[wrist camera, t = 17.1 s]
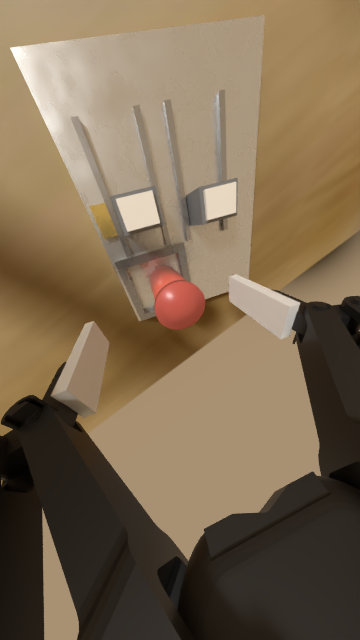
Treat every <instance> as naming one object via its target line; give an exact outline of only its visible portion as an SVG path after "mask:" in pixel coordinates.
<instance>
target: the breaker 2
mask: <svg viewBox="0 0 360 640" xmlns="http://www.w3.org/2000/svg"><path fill="white" fill-rule="evenodd" d="M237 195H238V178H234V179H230V180H226V181H222V182H218V183H214V184H209V185H205V186H201V187H198V188H197V189H195V190H194V191H192V192H191V193H189V194H188V195H186V198H187V204H188V211H189V218H190V225H191V226H194V225H204V224H208V223H211V222H215V221H219V220H222V219H226V218H230V217H233V216H237Z"/></svg>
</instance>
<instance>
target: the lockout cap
mask: <svg viewBox="0 0 360 640" xmlns="http://www.w3.org/2000/svg"><path fill="white" fill-rule="evenodd" d="M150 285H151V289H152V292H153V295H154V299H155V303H154V308H155V313H156V316H157V318H158V320H159V322H160V323H161V324H162V325H164V326H165V327H167V328H170V329H175V330H179V329H184V328H187V327H190V326H192V325H193V324H194V323H196V322H197V321H198V320H199V319H200V317H201V316H202V314H203V312H204V309H205V297H204V294H203V293H202V291H201V290H200V289H199V288H198V287H197V286H196V285H195V284H193V283H191V282H189V281H186V280H185V279H184V278H183V277H182V276H181V275H180V274H179V273H178V272H177V271H176V270H175V269H173V268H172V267H170V266H160V267H158V268H156V269H155V270H154V271H153V272H152V274H151V276H150Z"/></svg>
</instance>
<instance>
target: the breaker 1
mask: <svg viewBox="0 0 360 640" xmlns="http://www.w3.org/2000/svg"><path fill="white" fill-rule="evenodd" d="M110 199H111V201H112V204H113V207H114V209H115V212H116V215H117V217H118V220H119V222H120V225H121V228H122V230H123V233H124V235H125V236H128V235H132V234H136V233H139V232H143V231H147V230H151V229H154V228H158V227H162V226H164V222H163V217H162V213H161V209H160V205H159V200H158V196H157V192H156V188H155V186H151V187H147V188H143V189H139V190H134V191H130V192H126V193H122V194H118V195H113V196H110Z"/></svg>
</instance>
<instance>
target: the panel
mask: <svg viewBox="0 0 360 640" xmlns="http://www.w3.org/2000/svg"><path fill="white" fill-rule="evenodd" d="M264 20H265V15H262V16H255V17H247V18H239V19H231V20H223V21H216V22H208V23H200V24H192V25H184V26H176V27H169V28H161V29H153V30H145V31H137V32H129V33H122V34H114V35H106V36H98V37H90V38H83V39H75V40H67V41H59V42H51V43H43V44H36V45H28V46H20V47H12V48H10V49H11V51H12V53H13V55H14V57H15V59H16V61H17V63H18V66H19V68H20V70H21V72H22V74H23V76H24V78H25V80H26V83H27V85H28V87H29V89H30V91H31V93H32V95H33V97H34V99H35V102H36V104H37V106H38V108H39V110H40V112H41V114H42V116H43V119H44V121H45V123H46V125H47V127H48V129H49V131H50V133H51V135H52V138H53V140H54V142H55V144H56V146H57V148H58V150H59V152H60V155H61V157H62V159H63V161H64V163H65V165H66V167H67V169H68V171H69V174H70V176H71V178H72V180H73V182H74V184H75V186H76V188H77V191H78V193H79V195H80V197H81V199H82V201H83V203H84V205H85V207H86V210H87V212H88V214H89V216H90V218H91V220H92V222H93V224H94V227H95V229H96V231H97V233H98V235H99V237H100V239H101V241H102V243H103V246H104V248H105V250H106V252H107V254H108V256H109V258H110V260H111V263H112V265H113V267H114V269H115V271H116V273H117V275H118V277H119V279H120V282H121V284H122V286H123V288H124V290H125V292H126V294H127V296H128V299H129V301H130V303H131V305H132V307H133V309H134V311H135V313H136V315H137V318H138V320H139V321H143V320H146V319H149V318H152V317H155V316H156V313H155V308H154V303H155V299H154V295H153V292H152V289H151V285H150V276H151V274H152V272H153V271H154V270H155V269H156V268H158V267H160V266H170V267H172V268H173V269H175V270H176V271H177V272H178V273H179V274H180V275H181V276H182V277H183V278H184V279H185V280H186V281H189V282H191V283H193V284H195V285H196V286H197V287H198V288H199V289H200V290H201V291H202V293H203V294H204V297H205V299H208V298H211V297H214V296H217V295H220V294H223V293H226V292H229V276H232V275H235V274H236V275H239V276H241V277H243V278H245V279H248V280H249V265H250V249H251V232H252V216H253V200H254V183H255V167H256V151H257V134H258V118H259V102H260V85H261V69H262V53H263V36H264ZM234 178H238V195H237V216H233V217H230V218H226V219H222V220H219V221H215V222H211V223H208V224H204V225H194V226H191V225H190V218H189V211H188V204H187V198H186V195H188V194H189V193H191V192H192V191H194V190H195V189H197V188H198V187H201V186H205V185H209V184H214V183H218V182H222V181H226V180H230V179H234ZM151 186H155V188H156V192H157V196H158V200H159V205H160V209H161V213H162V217H163V222H164V226H162V227H158V228H154V229H151V230H147V231H143V232H139V233H136V234H132V235H128V236H125V235H124V233H123V230H122V228H121V225H120V222H119V220H118V217H117V215H116V212H115V209H114V207H113V204H112V201H111V199H110V196H113V195H118V194H122V193H126V192H130V191H134V190H139V189H143V188H147V187H151Z"/></svg>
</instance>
